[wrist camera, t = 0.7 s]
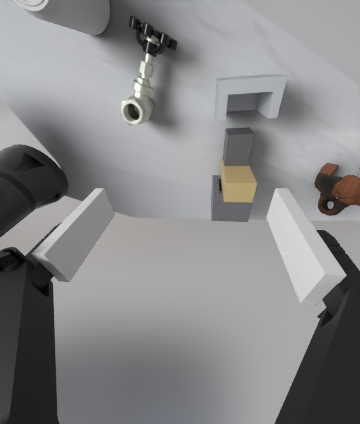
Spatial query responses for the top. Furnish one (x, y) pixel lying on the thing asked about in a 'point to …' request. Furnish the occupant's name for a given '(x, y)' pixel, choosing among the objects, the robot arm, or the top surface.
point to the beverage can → (71, 13)
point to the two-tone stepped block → (237, 166)
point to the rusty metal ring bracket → (336, 190)
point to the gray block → (227, 205)
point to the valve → (144, 72)
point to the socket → (250, 95)
